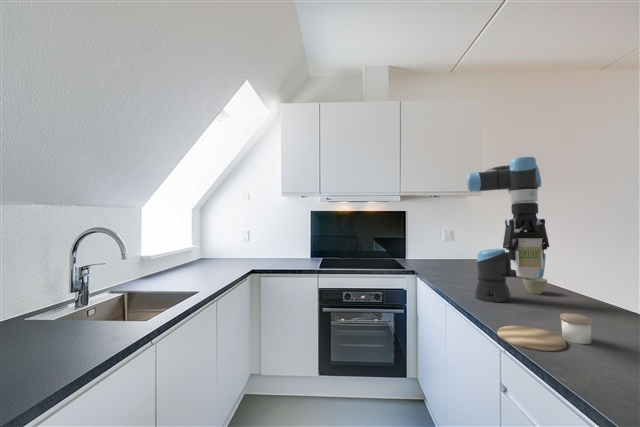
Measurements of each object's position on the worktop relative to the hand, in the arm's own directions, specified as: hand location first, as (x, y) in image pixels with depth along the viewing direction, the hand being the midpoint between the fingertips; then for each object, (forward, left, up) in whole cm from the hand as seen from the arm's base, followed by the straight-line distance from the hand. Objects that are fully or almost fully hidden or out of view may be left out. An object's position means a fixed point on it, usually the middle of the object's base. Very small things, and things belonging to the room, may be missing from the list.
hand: (527, 269), depth 100 cm
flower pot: (-41, +45, -21) cm, 64 cm away
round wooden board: (+4, -4, -21) cm, 22 cm away
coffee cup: (0, 0, -3) cm, 3 cm away
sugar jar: (+8, +9, -21) cm, 24 cm away
